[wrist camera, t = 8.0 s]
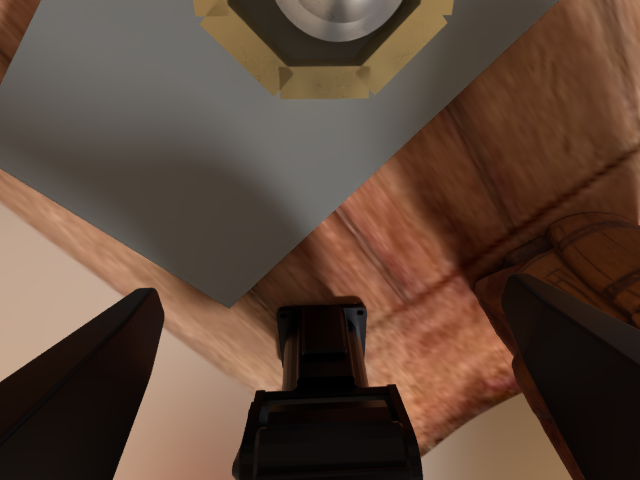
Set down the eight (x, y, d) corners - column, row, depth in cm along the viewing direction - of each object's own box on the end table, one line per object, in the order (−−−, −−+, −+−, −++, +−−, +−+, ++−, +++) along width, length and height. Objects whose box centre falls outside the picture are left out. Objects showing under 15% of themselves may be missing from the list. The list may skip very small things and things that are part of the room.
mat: (232, 294, 26) (229, 308, 25) (-10, 140, 20) (-32, 149, 18) (540, 0, 17) (559, -1, 16) (281, -433, 11) (278, -491, 10)
